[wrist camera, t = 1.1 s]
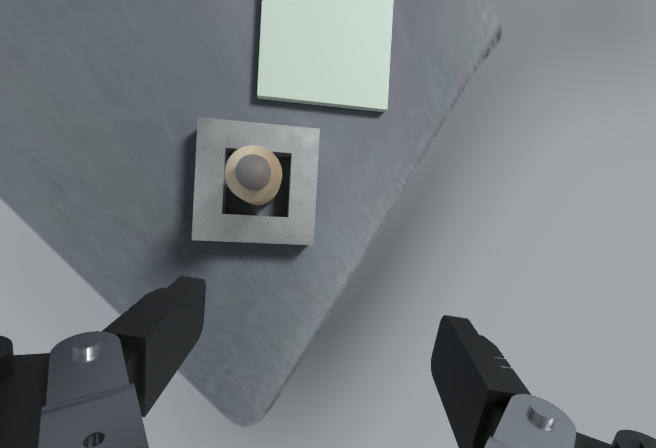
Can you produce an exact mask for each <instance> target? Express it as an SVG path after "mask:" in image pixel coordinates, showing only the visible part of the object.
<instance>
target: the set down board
mask: <svg viewBox="0 0 656 448" xmlns="http://www.w3.org/2000/svg"><path fill="white" fill-rule="evenodd" d="M392 18H393V0H262V10H261V30H260V49H259V69H258V88H257V99H265V100H275V101H284V102H293V103H302V104H311V105H321V106H330V107H339V108H348V109H357V110H367V111H376V112H385V111H386V110H387V106H388V88H389V70H390V53H391V35H392Z"/></svg>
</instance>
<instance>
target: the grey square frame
mask: <svg viewBox="0 0 656 448" xmlns="http://www.w3.org/2000/svg"><path fill="white" fill-rule="evenodd" d="M319 133H320V129H315V128H305V127H295V126H285V125H274V124H264V123H254V122H244V121H233V120H223V119H213V118H202V117H198V122H197V142H196V163H195V183H194V203H193V224H192V240H200V241H224V242H248V243H272V244H296V245H313V244H314V226H315V207H316V189H317V170H318V152H319ZM250 145H256V146H261V147H264V148H266V149H268V150H270V151H271V152H272V153H273V154H274V155H275V156H277V157H289V158H290V171H289V189H288V208H287V217H272V216H253V215H235V214H225V211H226V191H227V182H226V179H225V167H226V163H227V161H228V152H229V153H234V152H235V151H236V150H238V149H240V148H242V147H245V146H250Z"/></svg>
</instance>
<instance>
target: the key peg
mask: <svg viewBox="0 0 656 448" xmlns="http://www.w3.org/2000/svg"><path fill="white" fill-rule="evenodd" d="M225 179H226V182H227V185H228V187H229V188H230V190H231V191H232V192H233V193H234V194H235V195H236V196H237V197H239V198H241V199H242V200H244V201H246V202H247V203H249V204H252V205H256V206H261V205H265V204H268V203H269V202H271V201H272V200H273V199H274V198H275V196H276V195H277V192H278V190H279V187H280V184H281V181H282V168H281V164H280V162H279V160H278V158H277V157H276V156H275V155H274V154H273V153H272V152H271V151H270V150H268V149H266V148H264V147H261V146H256V145H250V146H245V147H242V148H240V149H238V150H236V151H235V152H234V153H233V154H232V155H231V156H230V158H229V159H228V161H227V163H226V167H225Z"/></svg>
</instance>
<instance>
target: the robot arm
mask: <svg viewBox="0 0 656 448" xmlns="http://www.w3.org/2000/svg"><path fill="white" fill-rule="evenodd" d="M205 292H206V283H205V280H204V279H200V278H193V277H186V276H180V277H179V278H178V279H177V280H175V281H174V282H173V283H172V284H171V285H170V286H169V287H168V288H160V289H157V290H155V291H153V292H150V293H148V294H146V295H145V296H144V297H143V298H141V299H140V300H139V301H138V302H137V304H134V305H133V306H132V307H130V308H129V310H128V311H126V312H124V313H123V314H122V315H121V316H120V317H118V318H117V319H116V320H115V321H114V322H112V323H111V324H110V325H109V326H108V327H107V328H105V329H104V330H103V331H102V332H100V331H96V332H86V333H81V334H78V335H74V336H72V337H69V338H67V339H65V340H63V341H61V342H60V343H58V344H57V345H56V346H55V347H54V348H53V349H52V350H51V352H50V353H45V354H28V355H13V345H12V341H11V340H10V339H8V338H6V337H4V336H0V448H149V447H148V442H147V438H146V433H145V429H144V424H143V420H142V417H145V416H146V415H147V413H148V412H149V410H150V409H151V408H152V406H153V405H154V403H155V402H156V400H157V399H158V397H159V396H160V395H161V393H162V392H163V390H164V389H165V387H166V386H167V384H168V383H169V382H170V380H171V379H172V377H173V376H174V374H175V373H176V371H177V370H178V369H179V367H180V366H181V364H182V363H183V361H184V360H185V358H186V357H187V356H188V354H189V353H190V351H191V350H192V348H193V347H194V345H195V344H196V343H197V341H198V339H199V337H200V335H201V332H202V329H203V324H204V310H205ZM431 372H432V376H433V379H434V382H435V384H436V387H437V390H438V393H439V395H440V398H441V401H442V403H443V406H444V409H445V411H446V414H447V417H448V420H449V422H450V425H451V428H452V430H453V433H454V436H455V438H456V441H457V444H458V446H459V448H656V439H654V438H652V437H650V436H648V435H645V434H642V433H639V432H636V431H632V430H620V431H618V432H617V434H616V436H615V438H614V440H613V442H612V445H610V444H607V443H605V442H602V441H599V440H597V439H594V438H591V437H588V436H586V435H583V434H580V433H578V432H576V428H575V426H574V424H573V422H572V421H571V419H570V418H569V417H568V416H567V415H566V414H565V413H564V412H563V411H561V410H560V409H559V408H557V407H556V406H554V405H553V404H551V403H549V402H548V401H546V400H543V399H541V398H539V397H536V396H533V395H531V394H530V392H529V391H528V390H527V388H526V387H525V385H524V384H523V383H522V382H521V380H520V378H519V377H518V376H517V375H516V373H515V372H514V370H513V369H511V366H510V365H509V363H508V362H507V361H506V359H504V356H503V355H502V353H501V352H500V351H499V349H498V348H497V347H496V346H495V345H494V344H493V343H492V342H490V341H489V340H488V339H487V338H485V337H484V336H481V335H479V334H478V333H477V331H476V330H475V328H474V327H473V325H472V324H471V322H470V321H469V320H468V319H467V318H460V317H453V316H447V315H444V316H443V317H442V319H441V322H440V325H439V329H438V333H437V337H436V341H435V345H434V349H433V353H432V358H431Z"/></svg>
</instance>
